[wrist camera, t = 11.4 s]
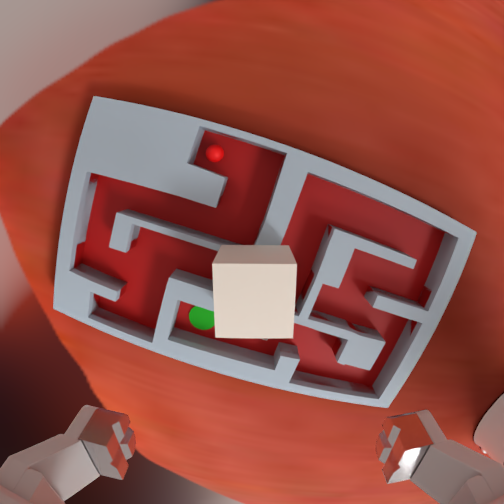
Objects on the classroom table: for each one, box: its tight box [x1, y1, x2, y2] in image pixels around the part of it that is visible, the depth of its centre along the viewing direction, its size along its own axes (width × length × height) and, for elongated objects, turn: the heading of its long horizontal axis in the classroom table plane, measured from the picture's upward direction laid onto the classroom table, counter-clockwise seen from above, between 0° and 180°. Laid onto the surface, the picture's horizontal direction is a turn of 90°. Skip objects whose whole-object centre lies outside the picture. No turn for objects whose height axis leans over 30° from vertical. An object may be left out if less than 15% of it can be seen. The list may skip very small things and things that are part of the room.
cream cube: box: [212, 245, 297, 338], centre depth 21 cm, size 5×5×5 cm
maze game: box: [53, 96, 477, 408], centre depth 25 cm, size 35×20×3 cm, turn 72°
